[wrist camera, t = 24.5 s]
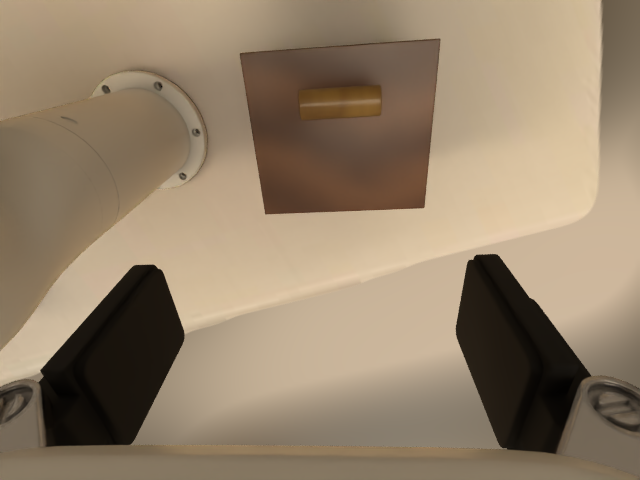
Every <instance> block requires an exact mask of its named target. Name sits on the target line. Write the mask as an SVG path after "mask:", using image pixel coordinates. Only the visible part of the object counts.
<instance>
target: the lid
mask: <svg viewBox="0 0 640 480" xmlns="http://www.w3.org/2000/svg"><path fill="white" fill-rule="evenodd" d="M439 49H440V39H426V40H412V41H398V42H384V43H370V44H356V45H343V46H329V47H315V48H301V49H287V50H273V51H259V52H245V53H240V58H241V65H242V71H243V77H244V83H245V90H246V96H247V102H248V108H249V115H250V121H251V127H252V134H253V140H254V146H255V152H256V159H257V165H258V171H259V178H260V184H261V190H262V196H263V203H264V209H265V214H284V213H310V212H336V211H361V210H387V209H413V208H424V205H425V195H426V185H427V174H428V164H429V153H430V143H431V133H432V122H433V112H434V101H435V91H436V81H437V70H438V60H439Z"/></svg>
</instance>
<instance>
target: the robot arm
mask: <svg viewBox="0 0 640 480" xmlns="http://www.w3.org/2000/svg"><path fill="white" fill-rule="evenodd" d="M160 83H161V84H162V87H160ZM109 88H110V89H109ZM197 129H198V130H199V131H200V133H198V132H197ZM206 152H207V134H206V129H205V125H204V123H203V120H202V117H201V115H200V113H199V111H198V110H197V108H196V106H195V105H194V103H193V102H192V101H191V99H190V98H189V97H188V96H187V95H186V94H185V93H184V92H183V91H182V90H181V89H180V88H179V87H178V86H176V85H175V84H173V83H172V82H170V81H169V80H167V79H166V78H163V77H161V76H159V75H157V74H154V73H150V72H146V71H135V70H131V71H124V72H119V73H116V74H113V75H110V76H109V77H107V78H106V79H104V80H102V81H101V83H100V84H99V85H98V86H97V87H96V88H95V90H94V91H93V93H92V95H91V97H90V98H89V99H85V100H81V101H77V102H73V103H69V104H65V105H61V106H57V107H53V108H49V109H45V110H41V111H37V112H33V113H30V114H26V115H22V116H18V117H14V118H9V119H5V120H1V121H0V350H2V349H3V348H4V347H5V346H6V345H7V343H8V342H9V341H10V340H11V339H12V338H13V337H14V336H15V335H16V334H17V333H18V332H19V330H20V329H21V328H22V327H23V326H24V324H25V323H26V322H27V320H28V319H29V318H30V316H31V315H32V314H33V312H34V311H35V310H36V308H37V307H38V305H39V304H40V302H41V301H42V299H43V298H44V297H45V295H46V294H47V292H48V291H49V289H50V288H51V286H52V285H53V284H54V283H55V281H56V280H57V279H58V277H59V276H60V275H61V274H62V273H63V272H64V271H65V269H66V268H67V267H68V266H69V265H70V264H71V263H72V262H73V261H74V260H75V259H76V258H77V257H78V256H79V255H80V254H81V253H82V252H84V251H85V250H86V249H87V248H88V247H89V246H90V245H91V244H92V243H94V242H95V241H96V240H97V239H98V238H99V237H101V236H102V235H103V234H104V233H105V232H106V231H108V230H109V229H110V228H111V227H113V226H114V225H115V224H116V223H117V222H119V221H120V220H121V219H122V218H123V217H124V216H126V215H127V214H128V213H129V212H130V211H131V210H133V209H134V208H135V207H136V206H137V205H138V204H140V203H141V202H142V201H143V200H144V199H146V198H147V197H148V196H149V195H150V194H151V193H153V192H154V191H155V190H156V189H170V188H175V187H178V186H180V185H183V184H184V183H186V182H187V181H189V180H190V179H191V178H192V177H194V176H195V175H196V173H197V172H198V171H199V170H200V168H201V167H202V164H203V162H204V160H205V157H206ZM184 173H185V174H186V175H184ZM456 335H457V339H458V342H459V344H460V347H461V350H462V352H463V354H464V357H465V360H466V362H467V365H468V367H469V370H470V372H471V375H472V378H473V380H474V383H475V385H476V388H477V390H478V393H479V395H480V397H481V400H482V403H483V405H484V408H485V410H486V413H487V416H488V418H489V421H490V423H491V426H492V428H493V431H494V433H495V436H496V438H497V441H498V443H499V445H500V446H501V447H502V448H507V449H473V448H440V447H439V448H437V447H364V446H363V447H362V446H258V445H257V446H254V445H252V446H251V445H246V446H245V445H244V446H243V445H130V444H131V443H132V442H133V441H134V439H135V438H136V436H137V434H138V432H139V430H140V428H141V426H142V424H143V422H144V420H145V418H146V416H147V414H148V412H149V410H150V408H151V406H152V404H153V402H154V400H155V398H156V396H157V394H158V392H159V390H160V388H161V386H162V384H163V382H164V380H165V378H166V376H167V374H168V372H169V370H170V368H171V366H172V364H173V362H174V360H175V358H176V356H177V354H178V352H179V350H180V348H181V346H182V344H183V342H184V330H183V327H182V324H181V321H180V319H179V316H178V313H177V310H176V307H175V305H174V302H173V299H172V296H171V293H170V291H169V288H168V285H167V282H166V279H165V276H164V274H163V272H162V270H161V269H158V268H157V267H156V266H155V265H135V266H133V267H132V268H131V269H130V270H129V271H128V272H127V273H126V274H125V276H124V277H123V278H122V279H121V280H120V281H119V282H118V283H117V285H116V286H115V287H114V288H113V289H112V290H111V291H110V292H109V294H108V295H107V296H106V297H105V298H104V299H103V300H102V302H101V303H100V304H99V305H98V306H97V307H96V308H95V309H94V311H93V312H92V313H91V314H90V315H89V316H88V317H87V318H86V320H85V321H84V322H83V323H82V324H81V325H80V326H79V327H78V329H77V330H76V331H75V332H74V333H73V334H72V335H71V336H70V338H69V339H68V340H67V341H66V342H65V343H64V344H63V345H62V347H61V348H60V349H59V350H58V351H57V352H56V353H55V354H54V356H53V357H52V358H51V359H50V360H49V361H48V362H47V363H46V365H45V366H44V367H43V368H42V369H41V370H40V371H41V373H42V374H43V376H44V377H43V378H42V379H41V380H40V381H39V383H38V382H36V381H34V380H29V379H24V380H18V381H14V382H11V383H9V384H6V385H3V386H2V387H0V480H640V389H639V388H637V387H635V386H633V385H631V384H629V383H628V382H625V381H622V380H620V379H616V378H613V377H608V376H591V375H590V373H589V372H588V371H587V369H586V368H585V367H584V365H583V364H582V363H581V361H580V360H579V359H578V358H577V356H576V355H575V353H574V352H573V351H572V349H571V348H570V347H569V345H568V344H567V343H566V341H565V340H564V339H563V337H562V336H561V335H560V333H559V332H558V331H557V329H556V328H555V327H554V325H553V324H552V322H551V321H550V320H549V318H548V317H547V316H546V314H545V313H544V312H543V310H542V309H541V308H540V306H539V305H538V304H537V303H536V302H535V301H534V300H533V299H531V298H529V296H528V295H527V294H526V292H525V291H524V290H523V288H522V287H521V286H520V284H519V283H518V281H517V280H516V279H515V277H514V276H513V274H512V273H511V272H510V270H509V269H508V268H507V266H506V265H505V264H504V262H503V261H502V259H501V258H500V257H499V256H498V255H496V254H488V255H476V256H475V257H474V259H473V260H469V261H468V263H467V268H466V273H465V279H464V285H463V290H462V296H461V302H460V307H459V313H458V319H457V325H456Z"/></svg>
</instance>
